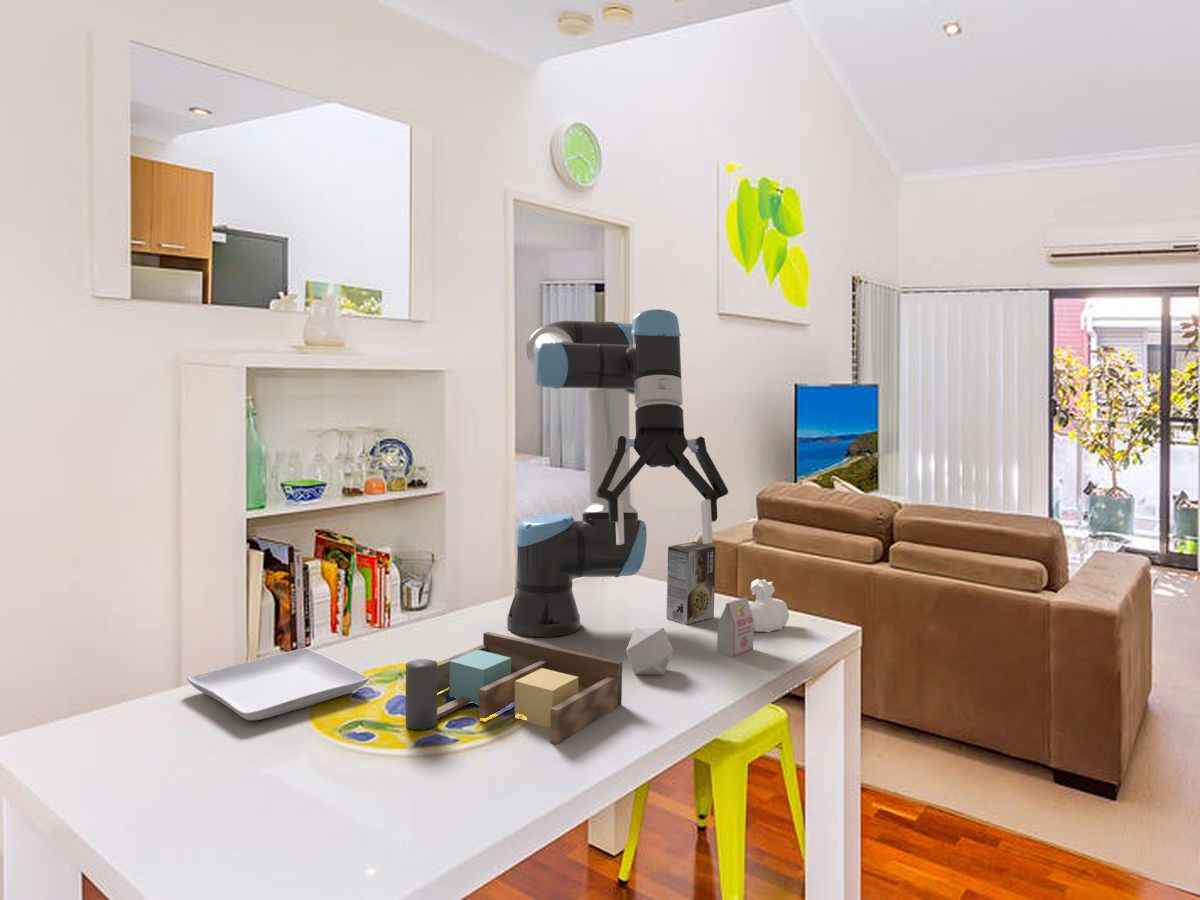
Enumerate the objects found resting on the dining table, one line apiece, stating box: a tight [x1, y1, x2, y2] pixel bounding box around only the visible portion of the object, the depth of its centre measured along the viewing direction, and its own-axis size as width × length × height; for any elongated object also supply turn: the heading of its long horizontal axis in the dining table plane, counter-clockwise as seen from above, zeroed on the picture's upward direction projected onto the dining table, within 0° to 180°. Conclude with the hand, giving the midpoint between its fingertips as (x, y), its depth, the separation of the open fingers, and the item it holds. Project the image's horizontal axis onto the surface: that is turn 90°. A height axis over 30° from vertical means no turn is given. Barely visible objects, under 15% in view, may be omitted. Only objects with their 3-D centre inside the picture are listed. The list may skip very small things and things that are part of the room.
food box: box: [665, 541, 716, 625], centre depth 186 cm, size 9×6×16 cm
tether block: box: [405, 650, 511, 730], centre depth 133 cm, size 19×7×9 cm, turn 148°
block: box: [514, 668, 579, 729], centre depth 131 cm, size 7×7×6 cm
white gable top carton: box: [716, 597, 755, 658], centre depth 164 cm, size 4×7×10 cm, turn 137°
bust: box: [749, 578, 790, 633], centre depth 181 cm, size 12×8×11 cm
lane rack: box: [436, 631, 623, 745], centre depth 136 cm, size 18×28×7 cm, turn 58°
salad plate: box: [187, 647, 370, 721], centre depth 138 cm, size 21×21×3 cm
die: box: [625, 626, 675, 676], centre depth 152 cm, size 8×9×10 cm
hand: (664, 543), depth 129 cm, fingers open, 13 cm apart
